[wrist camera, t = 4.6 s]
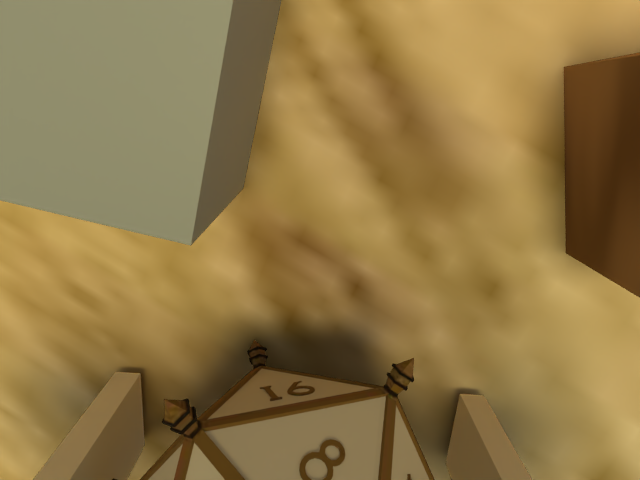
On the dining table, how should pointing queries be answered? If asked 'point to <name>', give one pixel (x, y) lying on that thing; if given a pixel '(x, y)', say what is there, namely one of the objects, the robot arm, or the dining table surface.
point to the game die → (295, 430)
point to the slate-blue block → (131, 108)
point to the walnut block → (604, 167)
